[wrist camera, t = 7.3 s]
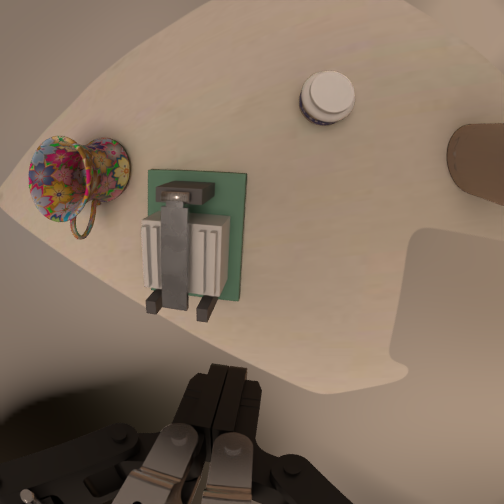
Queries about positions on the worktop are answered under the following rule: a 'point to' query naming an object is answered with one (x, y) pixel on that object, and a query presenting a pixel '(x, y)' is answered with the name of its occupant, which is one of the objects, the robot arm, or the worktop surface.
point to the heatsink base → (199, 235)
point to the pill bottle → (326, 97)
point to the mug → (76, 177)
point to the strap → (175, 249)
